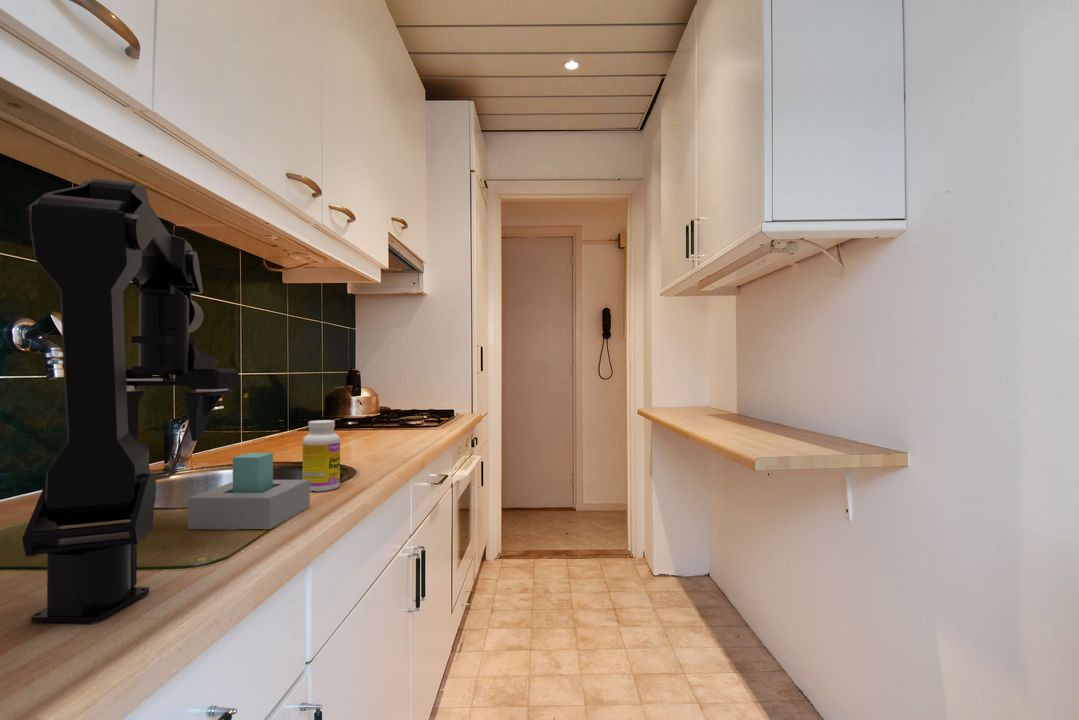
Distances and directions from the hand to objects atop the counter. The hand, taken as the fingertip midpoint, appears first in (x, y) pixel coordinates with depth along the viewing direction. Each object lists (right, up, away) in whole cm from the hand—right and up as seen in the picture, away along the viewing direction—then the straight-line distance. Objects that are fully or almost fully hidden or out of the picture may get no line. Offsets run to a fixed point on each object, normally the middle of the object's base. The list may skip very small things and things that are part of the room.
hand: (164, 440), depth 73 cm
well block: (+8, -13, +8) cm, 17 cm away
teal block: (+8, -12, +8) cm, 17 cm away
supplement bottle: (+11, -13, +27) cm, 32 cm away
